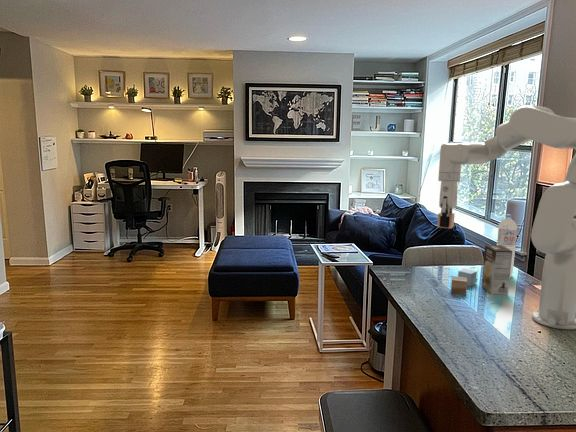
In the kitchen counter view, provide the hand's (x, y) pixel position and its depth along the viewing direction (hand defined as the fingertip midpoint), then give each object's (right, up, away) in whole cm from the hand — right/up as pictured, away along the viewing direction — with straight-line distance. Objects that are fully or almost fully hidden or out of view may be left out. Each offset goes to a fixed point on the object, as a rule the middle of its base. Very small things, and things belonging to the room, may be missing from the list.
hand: (445, 225), depth 167 cm
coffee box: (+16, -24, -4) cm, 29 cm away
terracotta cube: (0, -1, 0) cm, 1 cm away
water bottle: (+29, -21, +15) cm, 39 cm away
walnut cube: (+2, -24, -6) cm, 25 cm away
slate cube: (+9, -22, +3) cm, 24 cm away
